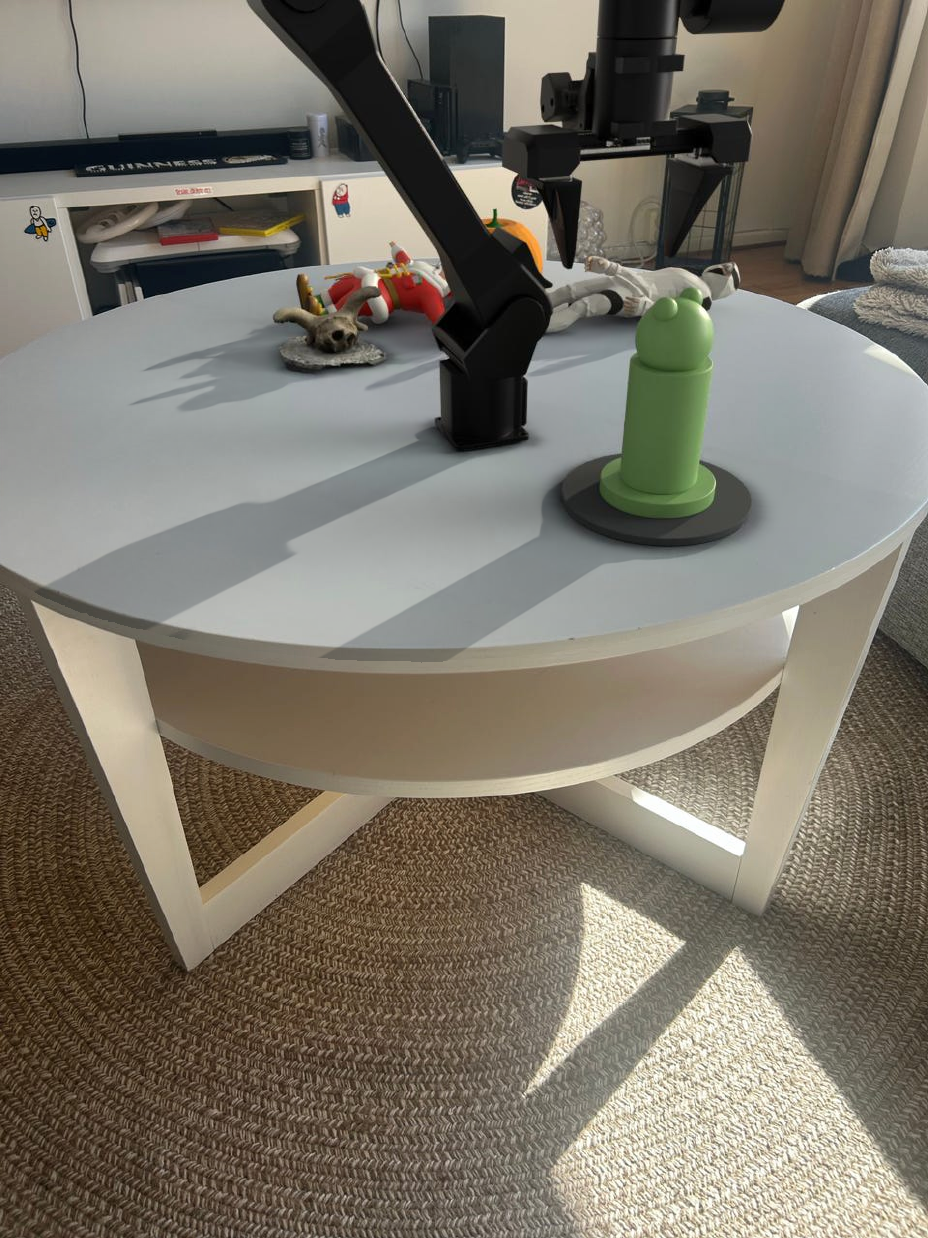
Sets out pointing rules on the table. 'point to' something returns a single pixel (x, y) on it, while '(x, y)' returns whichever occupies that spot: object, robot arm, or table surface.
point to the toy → (665, 414)
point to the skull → (329, 336)
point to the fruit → (517, 235)
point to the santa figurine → (383, 289)
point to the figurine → (635, 290)
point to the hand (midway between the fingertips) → (619, 262)
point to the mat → (699, 528)
